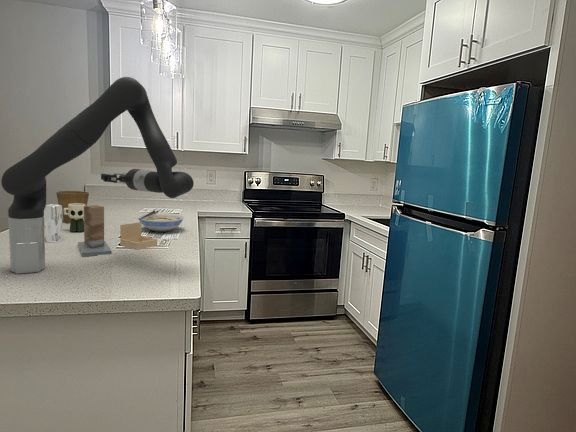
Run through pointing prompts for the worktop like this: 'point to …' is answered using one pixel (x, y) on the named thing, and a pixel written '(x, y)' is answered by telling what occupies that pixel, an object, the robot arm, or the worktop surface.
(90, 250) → the blue-grey flat slab
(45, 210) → the beer glass
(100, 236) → the walnut block
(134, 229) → the carton
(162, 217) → the ramen bowl
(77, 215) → the character mug
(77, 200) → the plant pot
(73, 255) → the worktop surface
